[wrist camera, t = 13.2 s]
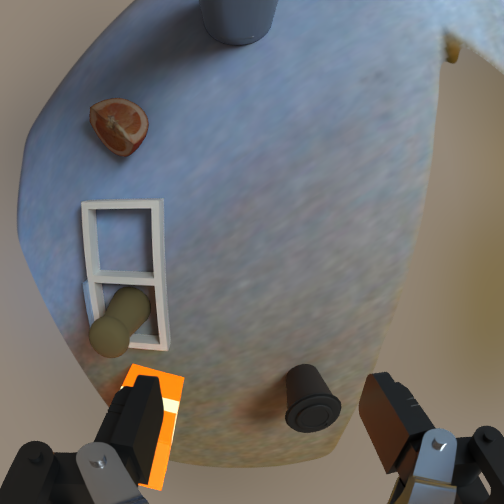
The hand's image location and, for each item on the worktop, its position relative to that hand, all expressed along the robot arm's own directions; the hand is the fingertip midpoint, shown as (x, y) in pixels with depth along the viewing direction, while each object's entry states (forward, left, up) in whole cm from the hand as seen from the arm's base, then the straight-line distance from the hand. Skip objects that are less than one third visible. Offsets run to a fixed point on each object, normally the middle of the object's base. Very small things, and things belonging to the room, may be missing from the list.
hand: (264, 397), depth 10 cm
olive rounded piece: (+11, -16, -30) cm, 36 cm away
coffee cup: (+23, +10, -30) cm, 39 cm away
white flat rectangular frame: (+6, -16, -30) cm, 35 cm away
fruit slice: (-14, -16, -30) cm, 37 cm away
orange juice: (+26, -14, -30) cm, 42 cm away
